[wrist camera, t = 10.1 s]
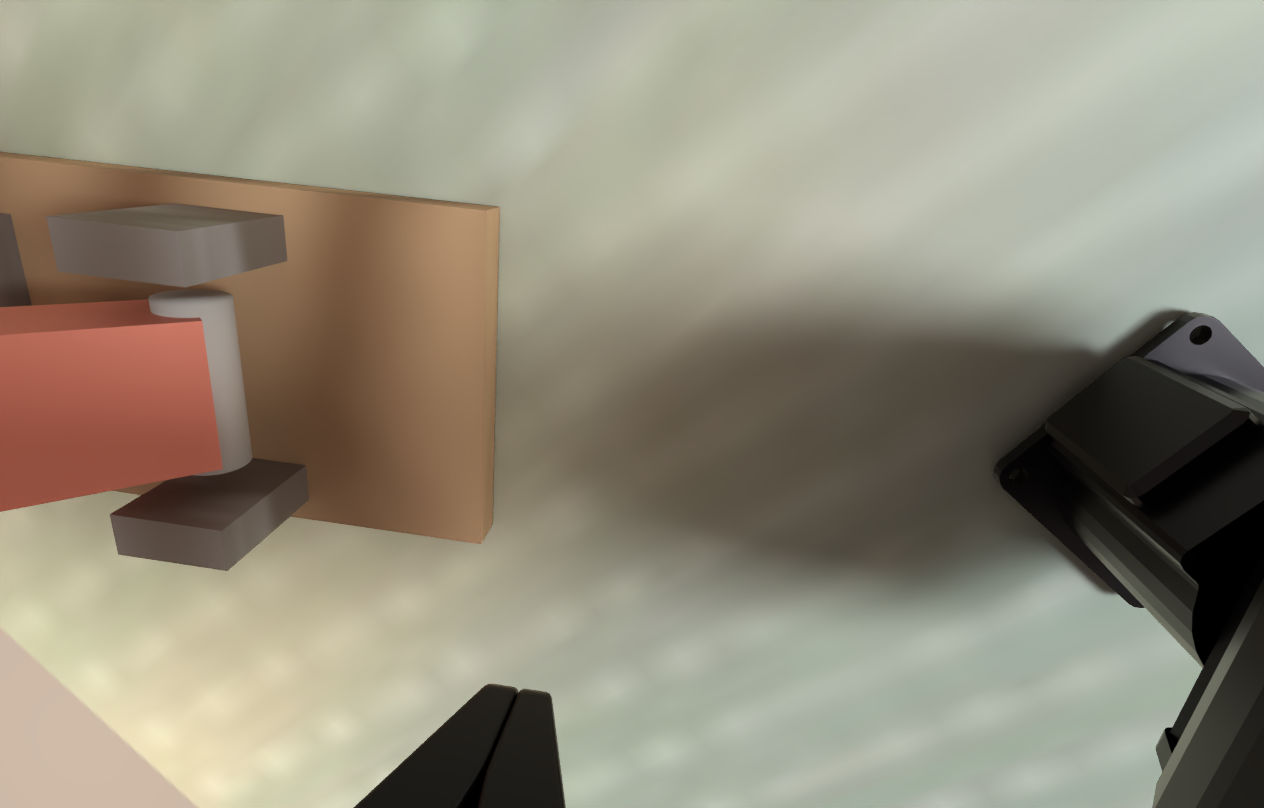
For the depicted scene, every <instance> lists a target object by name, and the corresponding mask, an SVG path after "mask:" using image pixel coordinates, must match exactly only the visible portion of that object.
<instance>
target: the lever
mask: <svg viewBox="0 0 1264 808" xmlns="http://www.w3.org/2000/svg"><path fill="white" fill-rule="evenodd" d="M251 460H252V448H251V440H250V432H249V423H248V415H247V407H246V399H245V391H244V382H243V374H242V366H241V358H240V349H239V341H238V333H237V325H236V316H235V308H234V300H233V295H232V294H230V293H228V292H224V291H219V290H210V289H182V290H171V291H165V292H160V293H156V294H153V295H151V296H149V298H148V300H129V301H110V302H91V303H72V304H52V305H33V306H14V307H0V512H1V511H6V510H12V509H17V508H22V507H27V506H33V505H38V504H43V503H48V502H53V501H59V500H64V499H69V498H74V497H80V496H85V495H90V494H95V493H101V492H106V491H111V490H116V489H122V488H127V487H132V486H137V485H143V484H148V483H153V482H158V481H164V480H169V479H174V478H179V477H185V476H190V475H195V476H210V475H218V474H224V473H228V472H231V471H234V470H237V469H240V468H242V467H244V466H245V465H247V464H248V463H249V462H250V461H251Z"/></svg>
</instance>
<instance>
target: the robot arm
mask: <svg viewBox="0 0 1264 808" xmlns="http://www.w3.org/2000/svg"><path fill="white" fill-rule="evenodd" d="M1198 326H1201V333H1200V334H1199V336H1198V337H1197V338H1195V339H1193V340H1191V341H1190V339H1189V337H1190V333H1191V332H1192V331H1193V329H1194V328H1196V327H1198ZM1016 469H1022V471H1021V474H1020V475H1019V476H1018V477H1016V478H1014V479H1009V474H1010V473H1011V472H1012V471H1014V470H1016ZM994 477H995V479H996V480H997V482H998V483H999V484H1000V485H1001V486H1002V488H1003V489H1004V490H1005V491H1007V492H1008V493H1009V494H1010V495H1011V496H1012V497H1013V498H1014V499H1015V500H1016V501H1017V502H1018V503H1020V504H1021V505H1022V506H1023V507H1024V508H1025V509H1026V510H1027V511H1028V512H1029V513H1030V514H1032V515H1033V516H1034V517H1035V518H1036V519H1037V520H1038V521H1039V522H1040V523H1041V524H1042V525H1044V526H1045V527H1046V528H1047V529H1048V530H1049V531H1050V532H1051V533H1052V534H1053V535H1054V536H1056V537H1057V538H1058V539H1059V540H1060V541H1061V542H1062V543H1063V544H1064V545H1065V546H1066V547H1068V548H1069V549H1070V550H1071V551H1072V552H1073V553H1074V554H1075V555H1076V556H1077V557H1078V558H1079V559H1081V560H1082V561H1083V562H1084V563H1085V564H1086V565H1087V566H1088V567H1089V568H1090V569H1091V570H1093V571H1094V572H1095V573H1096V574H1097V575H1098V576H1099V577H1100V578H1101V579H1102V580H1103V581H1105V582H1106V583H1107V584H1108V585H1109V586H1110V587H1111V588H1112V589H1113V590H1114V591H1115V592H1117V593H1118V594H1119V595H1120V596H1121V597H1122V598H1123V599H1124V600H1125V601H1126V602H1127V603H1128V604H1130V605H1132V606H1133V607H1138V608H1146V609H1147V610H1148V611H1149V612H1150V613H1151V614H1152V615H1153V616H1154V617H1155V619H1156V620H1157V621H1158V622H1159V623H1160V624H1161V625H1162V626H1163V627H1164V628H1165V629H1166V630H1167V631H1168V632H1169V633H1170V634H1171V635H1172V636H1173V637H1174V638H1175V639H1176V641H1177V642H1178V643H1179V644H1180V645H1181V646H1182V647H1183V648H1184V649H1185V650H1186V651H1187V652H1188V653H1189V654H1190V655H1191V656H1192V657H1193V658H1194V659H1195V660H1196V661H1197V663H1198V664H1199V665H1200V666H1201V667H1202V668H1203V669H1202V671H1201V673H1200V675H1199V677H1198V679H1197V681H1196V683H1195V685H1194V687H1193V689H1192V690H1191V692H1190V694H1189V696H1188V698H1187V700H1186V702H1185V704H1184V706H1183V708H1182V710H1181V712H1180V714H1179V716H1178V718H1177V720H1176V722H1175V724H1174V726H1173V728H1166V729H1165V730H1164V732H1163V734H1162V736H1161V738H1160V740H1159V742H1158V744H1157V746H1156V752H1157V755H1158V758H1159V762H1160V765H1161V768H1162V774H1161V776H1160V778H1159V780H1158V782H1157V785H1156V790H1155V796H1154V802H1153V808H1264V367H1263V366H1262V365H1261V364H1260V363H1259V362H1258V361H1257V360H1256V359H1255V358H1254V357H1253V356H1252V355H1251V354H1250V352H1249V351H1248V350H1247V349H1246V348H1245V347H1244V346H1243V345H1242V344H1241V343H1240V342H1239V341H1238V340H1237V339H1236V338H1235V337H1234V336H1233V335H1232V334H1231V332H1230V331H1229V330H1228V329H1227V328H1226V327H1225V326H1224V325H1223V324H1222V323H1221V322H1220V321H1219V320H1217V319H1216V318H1214V317H1212V316H1209V315H1206V314H1203V313H1196V312H1193V313H1188V314H1185V315H1183V316H1182V317H1180V318H1178V319H1177V320H1176V321H1174V322H1173V323H1172V324H1170V325H1169V326H1168V327H1167V328H1165V329H1164V330H1163V331H1162V332H1160V333H1159V334H1158V335H1157V336H1155V337H1154V338H1153V339H1152V340H1150V341H1149V342H1148V343H1147V344H1145V345H1144V346H1143V347H1142V348H1140V349H1139V350H1138V351H1137V352H1135V353H1134V354H1133V355H1132V356H1130V357H1125V358H1123V359H1122V360H1120V361H1119V362H1118V363H1117V364H1115V365H1114V366H1113V367H1112V368H1110V369H1109V370H1108V371H1107V372H1105V373H1104V374H1103V375H1102V376H1100V377H1099V378H1098V379H1097V380H1095V381H1094V382H1093V383H1092V384H1090V385H1089V386H1088V387H1087V388H1085V389H1084V390H1083V391H1082V392H1080V393H1079V394H1078V395H1077V396H1075V397H1074V398H1073V399H1072V400H1070V401H1069V402H1068V403H1067V404H1065V405H1064V406H1063V407H1062V408H1060V409H1059V410H1058V411H1057V412H1055V413H1054V414H1053V415H1052V416H1050V417H1049V418H1048V419H1047V422H1046V424H1045V425H1044V426H1042V427H1041V428H1040V429H1039V430H1037V431H1036V432H1035V433H1034V434H1032V435H1031V436H1030V437H1029V438H1027V439H1026V440H1025V441H1023V442H1022V443H1021V444H1020V445H1018V446H1017V447H1016V448H1015V449H1013V450H1012V451H1011V452H1010V453H1008V454H1007V455H1006V456H1005V457H1003V458H1002V459H1001V460H1000V461H999V462H998V463H997V464H996V466H995V469H994ZM354 808H566V807H565V799H564V791H563V783H562V775H561V767H560V759H559V752H558V744H557V736H556V728H555V720H554V712H553V704H552V698H551V695H550V694H549V693H547V692H542V691H536V690H530V689H522V690H520V692H518V690H517V689H516V688H515V687H510V686H504V685H497V684H488V685H486V686H484V687H483V688H482V689H481V690H480V691H479V692H478V693H476V694H475V695H474V696H473V697H472V698H471V699H470V700H469V701H468V702H467V703H466V704H465V705H464V706H462V707H461V708H460V709H459V710H458V711H457V712H456V713H455V714H454V715H453V716H452V717H451V718H450V719H449V720H447V721H446V722H445V723H444V724H443V725H442V726H441V727H440V728H439V729H438V730H437V731H436V732H435V733H433V734H432V735H431V736H430V737H429V738H428V739H427V740H426V741H425V742H424V743H423V744H422V745H421V746H419V747H418V748H417V749H416V750H415V751H414V752H413V753H412V754H411V755H410V756H409V757H408V758H407V759H405V760H404V761H403V762H402V763H401V764H400V765H399V766H398V767H397V768H396V769H395V770H394V771H393V772H392V773H390V774H389V775H388V776H387V777H386V778H385V779H384V780H383V781H382V782H381V783H380V784H379V785H378V786H376V787H375V788H374V789H373V790H372V791H371V792H370V793H369V794H368V795H367V796H366V797H365V798H364V799H362V800H361V801H360V802H359V803H358V804H357V805H356V806H355V807H354Z"/></svg>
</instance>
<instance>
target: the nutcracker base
mask: <svg viewBox="0 0 1264 808" xmlns="http://www.w3.org/2000/svg"><path fill="white" fill-rule="evenodd" d="M499 220H500V207H495V206H486V205H477V204H468V203H459V202H450V201H441V200H432V199H423V198H414V197H405V196H395V195H386V194H377V193H368V192H359V191H350V190H341V189H332V188H323V187H314V186H305V185H295V184H286V183H277V182H268V181H259V180H250V179H241V178H232V177H223V176H214V175H205V174H195V173H186V172H177V171H168V170H159V169H150V168H141V167H132V166H123V165H114V164H105V163H95V162H86V161H77V160H68V159H59V158H50V157H41V156H32V155H23V154H14V153H4V152H0V307H14V306H33V305H52V304H72V303H91V302H110V301H129V300H148V298H149V296H151V295H153V294H156V293H160V292H165V291H171V290H182V289H210V290H219V291H224V292H228V293H230V294H232V295H233V300H234V308H235V316H236V325H237V333H238V341H239V349H240V358H241V366H242V374H243V382H244V391H245V399H246V407H247V415H248V423H249V432H250V440H251V448H252V460H251V461H250V462H249V463H248V464H247V465H245V466H244V467H242V468H240V469H237V470H234V471H231V472H228V473H224V474H218V475H210V476H195V475H190V476H185V477H179V478H174V479H169V480H164V481H158V482H153V483H148V484H143V485H137V486H132V487H127V488H122V489H116V490H112V491H118V492H125V493H132V494H139V495H141V496H140V497H138V498H136V499H135V500H133V501H131V502H130V503H128V504H127V505H125V506H123V507H122V508H120V509H118V510H117V511H115V512H113V513H112V514H110V517H111V522H112V527H113V531H114V536H115V541H116V545H117V550H118V554H119V555H126V556H132V557H139V558H146V559H152V560H159V561H165V562H172V563H179V564H185V565H192V566H198V567H205V568H212V569H218V570H225V571H228V570H229V569H230V568H231V567H232V566H233V565H235V564H236V563H237V562H238V561H239V560H240V559H242V558H243V557H244V556H245V555H246V554H247V553H248V552H250V551H251V550H252V549H253V548H254V547H255V546H256V545H258V544H259V543H260V542H261V541H262V540H263V539H265V538H266V537H267V536H268V535H269V534H270V533H271V532H273V531H274V530H275V529H276V528H277V527H278V526H279V525H281V524H282V523H283V522H284V521H285V520H286V519H288V518H289V517H290V516H291V517H298V518H305V519H312V520H319V521H326V522H333V523H340V524H347V525H354V526H361V527H367V528H374V529H381V530H388V531H395V532H402V533H409V534H416V535H423V536H430V537H437V538H444V539H450V540H457V541H464V542H471V543H478V544H481V543H482V541H483V539H484V538H485V536H486V534H487V532H488V531H489V529H490V527H491V526H492V524H493V482H494V438H495V394H496V351H497V307H498V263H499Z"/></svg>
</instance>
